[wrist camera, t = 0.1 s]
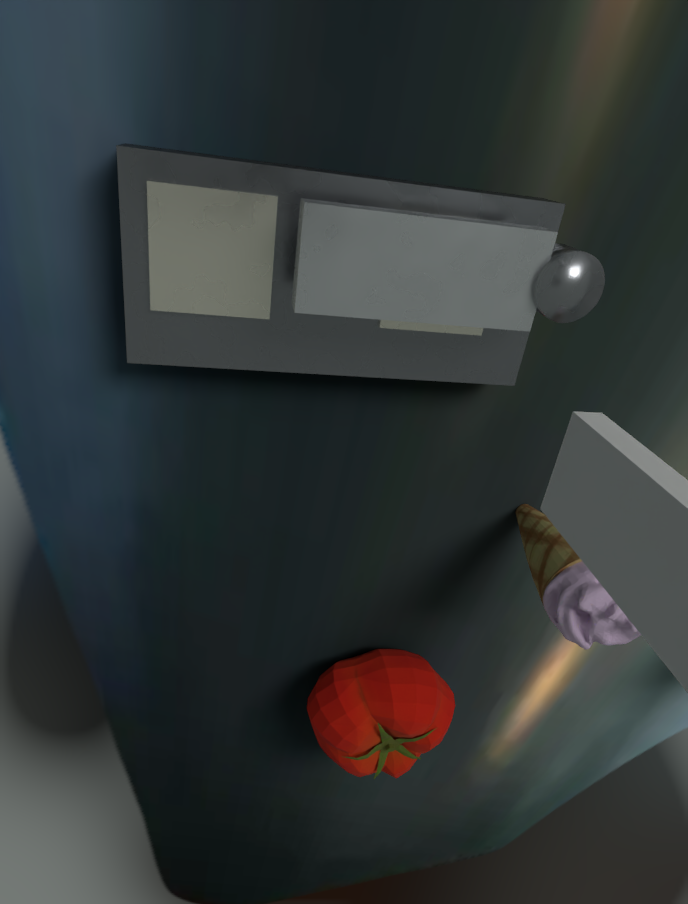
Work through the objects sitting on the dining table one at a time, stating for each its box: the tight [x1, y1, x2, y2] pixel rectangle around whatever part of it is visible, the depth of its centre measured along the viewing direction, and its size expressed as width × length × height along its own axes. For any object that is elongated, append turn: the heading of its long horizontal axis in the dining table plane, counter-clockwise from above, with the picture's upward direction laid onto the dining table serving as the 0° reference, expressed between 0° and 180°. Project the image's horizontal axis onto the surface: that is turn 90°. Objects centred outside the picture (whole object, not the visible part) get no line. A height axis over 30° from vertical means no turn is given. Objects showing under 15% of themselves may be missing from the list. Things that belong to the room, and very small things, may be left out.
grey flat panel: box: [292, 198, 605, 332], centre depth 33 cm, size 6×18×2 cm, turn 83°
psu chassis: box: [116, 144, 565, 386], centre depth 37 cm, size 12×26×5 cm, turn 83°
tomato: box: [307, 649, 455, 779], centre depth 55 cm, size 14×13×9 cm
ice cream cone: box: [516, 504, 641, 649], centre depth 45 cm, size 7×6×15 cm
